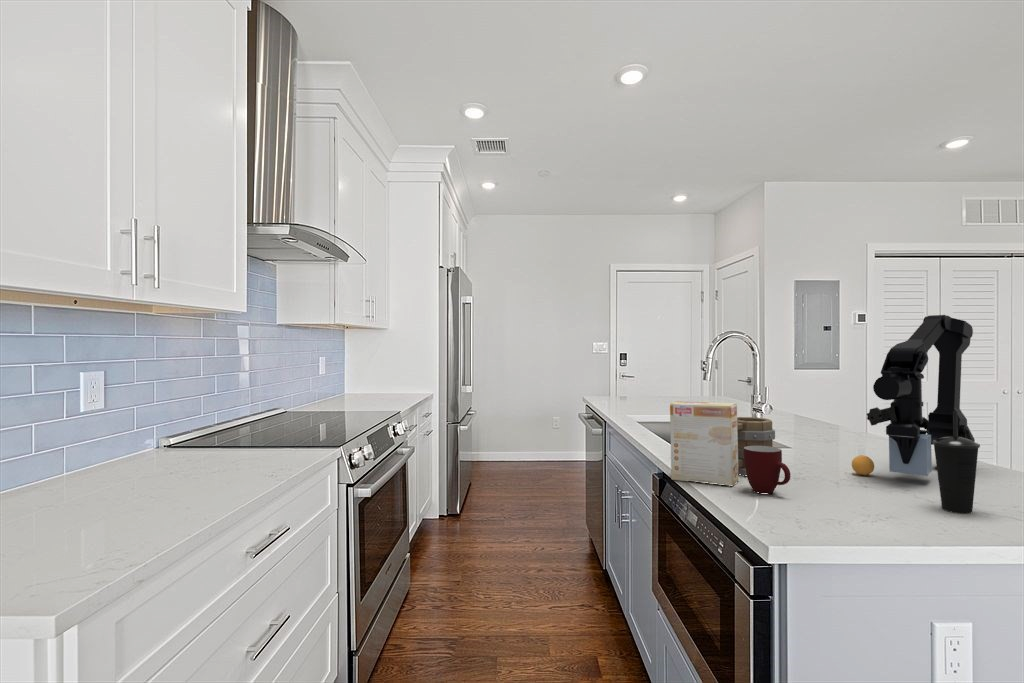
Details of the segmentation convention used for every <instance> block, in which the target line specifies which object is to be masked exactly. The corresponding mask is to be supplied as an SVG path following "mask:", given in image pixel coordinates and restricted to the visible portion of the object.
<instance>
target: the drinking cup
mask: <svg viewBox="0 0 1024 683" xmlns="http://www.w3.org/2000/svg"><path fill="white" fill-rule="evenodd" d="M932 444H934V445H933V449H934V456H935V463H936V465H937V469H936V472H937V478H938V487H939V494H940V503H941V508H943V509H942V510H944V511H946V510H947V512H950V511H952V513H955V512H957V513H956V514H972V513H973V507H974V497H975V488H976V487H975V486H976V476H977V464H978V455H979V449H980V448H981V445H980V443H978V442H973V441H971V440H969V439H966V438H962V437H958V434H957V411H953V436H949V437H942V438H939V439H937V440H933V441H932ZM971 512H972V513H971Z"/></svg>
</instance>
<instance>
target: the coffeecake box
mask: <svg viewBox="0 0 1024 683" xmlns="http://www.w3.org/2000/svg"><path fill="white" fill-rule="evenodd" d="M737 417H738V404H737V403H736V402H733V403H732V402H705V401H700V402H699V401H682V400H681V401H679V400H678V401H675V402H671V403H670V404H669V420H670V423H669V424H670V425H669V426H670V427H669V428H670V429H669V430H670V469H671V470H670V471H671V472H670V473H671V474H670V475H671V476H670V478H671V480H672V481H679V482H688V481H698V482H708V483H717V484H724V485H734V486H735V485H736V484H737V483H738V482H739V475H738V433H737ZM737 481H738V482H737ZM736 482H737V483H736ZM735 483H736V484H735Z"/></svg>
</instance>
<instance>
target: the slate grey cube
mask: <svg viewBox="0 0 1024 683" xmlns="http://www.w3.org/2000/svg"><path fill="white" fill-rule="evenodd" d="M919 436H920V439H919V441H918V443H917V446H916V448H915V450H914V453H913V455H912V457H911V460H910V462H909V464H904V463H903V461H902V458H901V455H900V451H899V448H898V445H897V442H896V441H895V440H893V439H892V438H890V437H889V436H888V450H889V451H888V454H889V455H888V458H889V459H888V460H889V461H888V462H889V464H888V465H889V467H888V468H889V472H890V473H900V474H905V475H915V476H922V477H924V476H925V477H928V476H929V474H930V473H931V472H932V470H933V469H932V468H933V467H932V465H933V464H932V463H933V462H932V460H933V459H932V458H933V457H932V445H931V435H927V433H926V434H920V435H919Z"/></svg>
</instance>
